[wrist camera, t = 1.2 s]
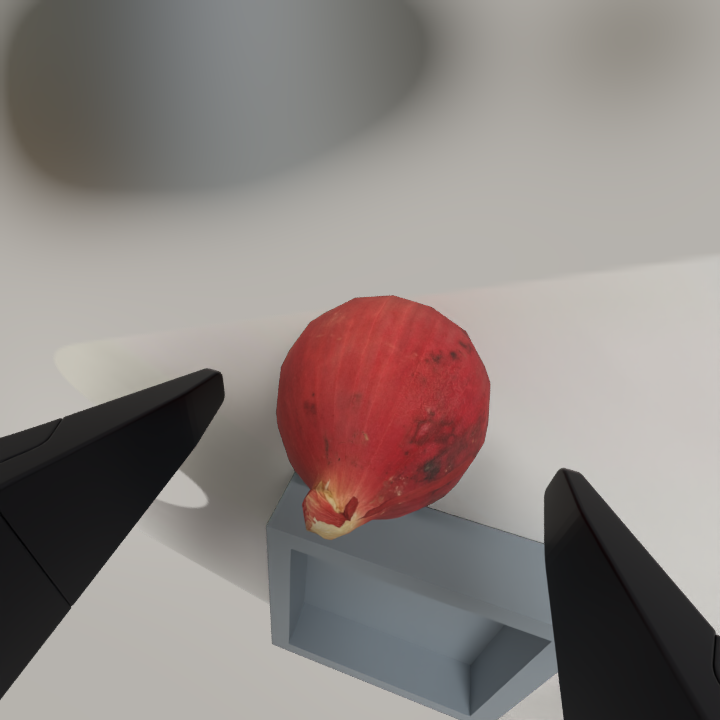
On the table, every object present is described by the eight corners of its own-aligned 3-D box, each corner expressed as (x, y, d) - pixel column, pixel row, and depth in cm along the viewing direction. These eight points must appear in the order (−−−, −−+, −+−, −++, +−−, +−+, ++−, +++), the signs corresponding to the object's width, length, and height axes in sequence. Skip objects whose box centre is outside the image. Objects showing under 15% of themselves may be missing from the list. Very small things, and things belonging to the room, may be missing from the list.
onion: (489, 254, 11) (507, 431, 4) (484, 404, 14) (491, 646, 7) (315, 267, 13) (147, 408, 6) (343, 397, 16) (247, 587, 9)
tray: (576, 554, 17) (597, 640, 14) (483, 660, 25) (484, 729, 22) (297, 466, 19) (266, 525, 16) (293, 589, 27) (271, 644, 24)
